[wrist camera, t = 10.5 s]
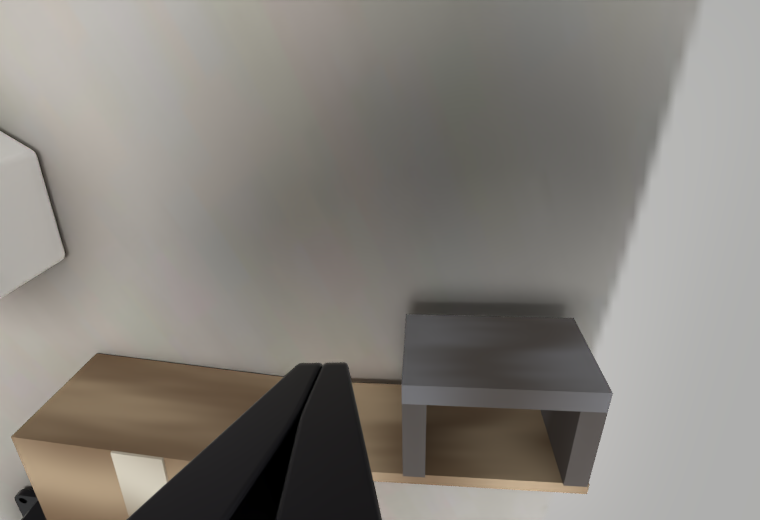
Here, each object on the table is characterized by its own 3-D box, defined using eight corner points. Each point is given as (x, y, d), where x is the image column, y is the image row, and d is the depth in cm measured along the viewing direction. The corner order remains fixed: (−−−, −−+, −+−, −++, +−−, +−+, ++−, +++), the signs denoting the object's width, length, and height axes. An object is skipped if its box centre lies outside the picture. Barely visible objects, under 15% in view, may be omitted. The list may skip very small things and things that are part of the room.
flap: (570, 308, 18) (616, 393, 13) (553, 398, 20) (587, 496, 16) (299, 302, 19) (263, 379, 15) (311, 389, 21) (282, 478, 17)
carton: (301, 522, 26) (275, 624, 22) (135, 498, 27) (76, 594, 22) (300, 379, 21) (266, 474, 16) (96, 353, 21) (8, 439, 17)
